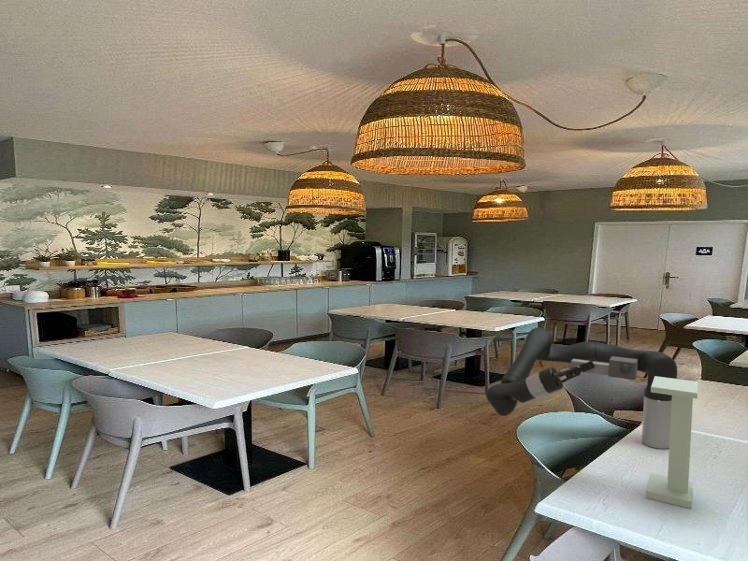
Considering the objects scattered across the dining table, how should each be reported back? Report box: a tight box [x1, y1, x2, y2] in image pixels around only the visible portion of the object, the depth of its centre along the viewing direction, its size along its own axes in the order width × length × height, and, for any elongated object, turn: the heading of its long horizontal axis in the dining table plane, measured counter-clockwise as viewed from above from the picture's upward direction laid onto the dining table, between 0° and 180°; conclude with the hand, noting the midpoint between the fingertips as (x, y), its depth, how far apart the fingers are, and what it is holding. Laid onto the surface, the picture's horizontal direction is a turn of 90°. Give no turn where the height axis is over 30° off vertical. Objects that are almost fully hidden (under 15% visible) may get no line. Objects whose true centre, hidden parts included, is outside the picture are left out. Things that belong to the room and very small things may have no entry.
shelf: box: [645, 376, 699, 509], centre depth 147 cm, size 14×11×32 cm
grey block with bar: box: [570, 356, 638, 381], centre depth 156 cm, size 7×18×5 cm, turn 58°
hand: (594, 362), depth 158 cm, fingers closed on grey block with bar, 3 cm apart
